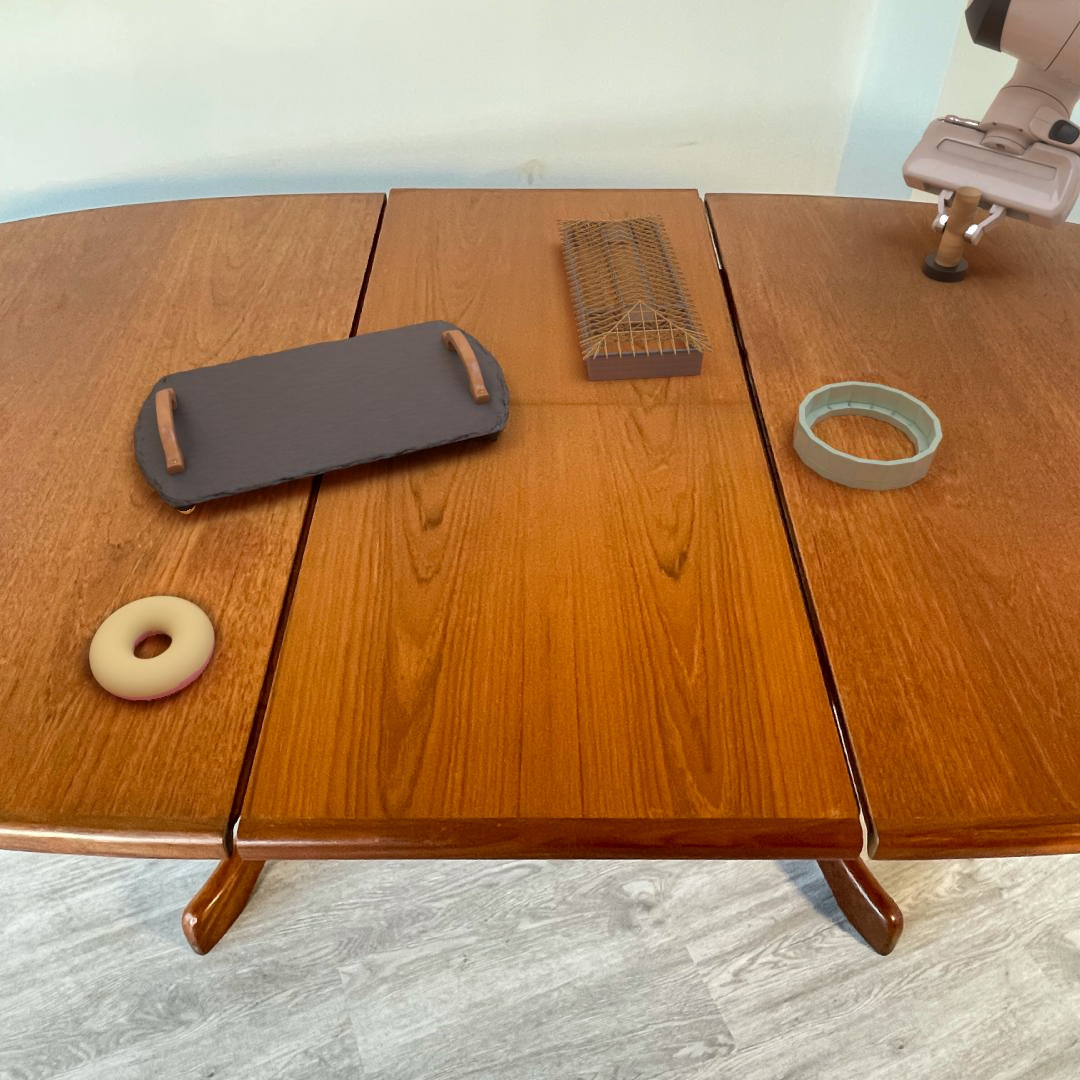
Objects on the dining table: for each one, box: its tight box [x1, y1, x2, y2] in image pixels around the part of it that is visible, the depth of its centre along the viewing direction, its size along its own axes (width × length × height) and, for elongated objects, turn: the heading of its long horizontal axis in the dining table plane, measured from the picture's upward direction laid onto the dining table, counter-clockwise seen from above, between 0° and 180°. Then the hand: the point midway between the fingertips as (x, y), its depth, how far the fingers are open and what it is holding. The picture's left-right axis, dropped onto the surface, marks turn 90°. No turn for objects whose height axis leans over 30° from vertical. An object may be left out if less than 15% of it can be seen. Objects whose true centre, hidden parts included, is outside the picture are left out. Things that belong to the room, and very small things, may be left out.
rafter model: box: [555, 213, 714, 382], centre depth 109 cm, size 35×14×6 cm, turn 4°
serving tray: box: [132, 319, 511, 512], centre depth 92 cm, size 39×23×6 cm, turn 110°
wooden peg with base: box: [921, 186, 982, 284], centre depth 108 cm, size 5×5×12 cm
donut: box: [88, 595, 216, 701], centre depth 71 cm, size 10×5×9 cm
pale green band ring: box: [792, 380, 943, 492], centre depth 86 cm, size 13×13×5 cm
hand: (953, 236), depth 108 cm, fingers closed on wooden peg with base, 3 cm apart
